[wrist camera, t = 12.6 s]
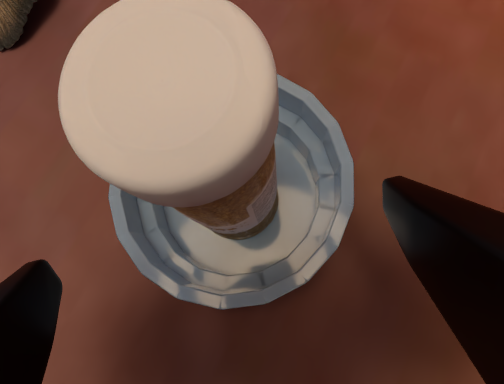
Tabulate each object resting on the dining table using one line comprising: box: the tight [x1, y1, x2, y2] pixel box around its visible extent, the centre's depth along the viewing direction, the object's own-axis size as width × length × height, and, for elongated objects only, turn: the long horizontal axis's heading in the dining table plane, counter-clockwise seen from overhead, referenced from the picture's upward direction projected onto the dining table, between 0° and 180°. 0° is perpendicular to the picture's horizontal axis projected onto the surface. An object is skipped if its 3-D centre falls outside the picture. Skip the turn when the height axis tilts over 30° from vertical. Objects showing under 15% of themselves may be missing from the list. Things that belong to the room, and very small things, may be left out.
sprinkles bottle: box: [58, 0, 279, 240], centre depth 14 cm, size 5×5×14 cm
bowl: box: [108, 74, 354, 310], centre depth 19 cm, size 11×11×4 cm
